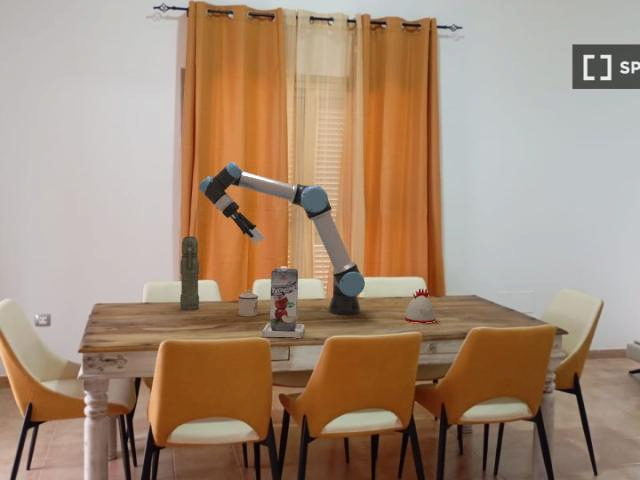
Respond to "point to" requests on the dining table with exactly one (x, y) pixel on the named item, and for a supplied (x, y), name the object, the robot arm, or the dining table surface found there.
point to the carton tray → (283, 332)
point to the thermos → (189, 274)
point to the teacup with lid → (248, 304)
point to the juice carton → (284, 299)
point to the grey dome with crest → (420, 308)
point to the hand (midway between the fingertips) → (260, 241)
